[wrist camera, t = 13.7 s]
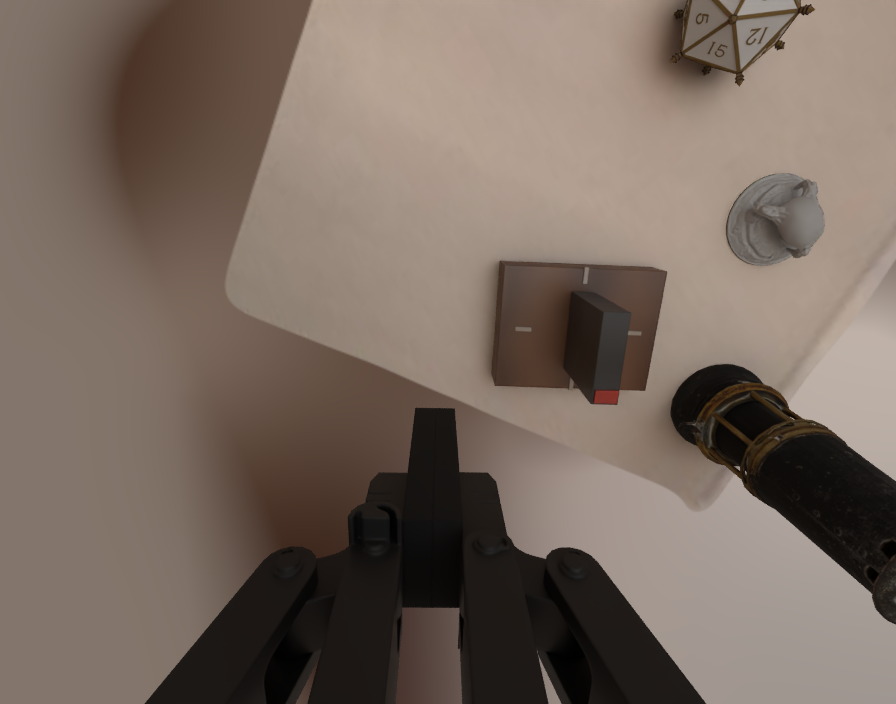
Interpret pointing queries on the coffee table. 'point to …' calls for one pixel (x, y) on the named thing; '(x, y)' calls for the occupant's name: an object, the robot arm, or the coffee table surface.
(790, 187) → the miniature
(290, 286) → the coffee table surface
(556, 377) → the block
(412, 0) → the coffee table surface
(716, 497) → the coffee table surface
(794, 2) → the game die
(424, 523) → the robot arm
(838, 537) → the lantern
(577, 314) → the dark grey block
